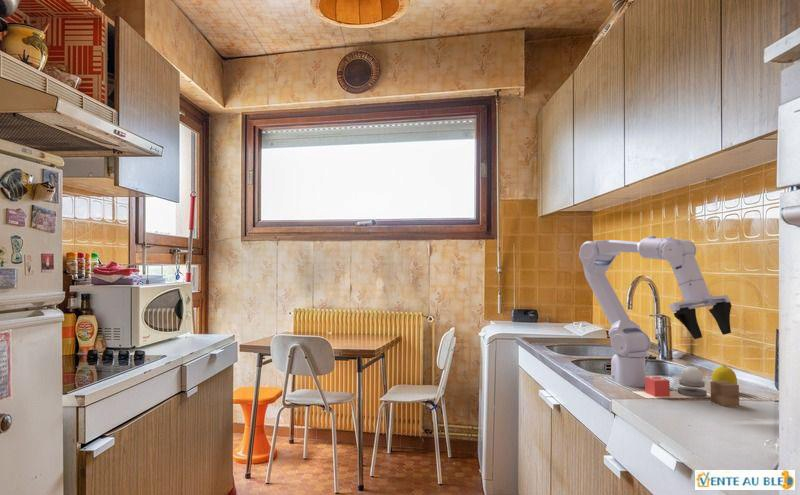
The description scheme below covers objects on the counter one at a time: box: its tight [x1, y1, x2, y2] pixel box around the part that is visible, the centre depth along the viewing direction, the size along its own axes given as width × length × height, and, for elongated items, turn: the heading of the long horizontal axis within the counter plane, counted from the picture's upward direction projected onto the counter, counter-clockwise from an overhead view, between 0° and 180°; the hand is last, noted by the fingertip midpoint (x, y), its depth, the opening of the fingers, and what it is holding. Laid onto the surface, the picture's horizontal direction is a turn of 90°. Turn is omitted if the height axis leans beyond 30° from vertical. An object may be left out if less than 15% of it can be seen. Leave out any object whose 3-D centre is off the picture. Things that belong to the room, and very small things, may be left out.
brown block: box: [709, 380, 740, 408], centre depth 112 cm, size 4×4×6 cm
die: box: [644, 376, 671, 397], centre depth 121 cm, size 4×4×4 cm
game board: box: [631, 386, 711, 399], centre depth 116 cm, size 16×19×2 cm
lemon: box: [711, 364, 738, 385], centre depth 124 cm, size 6×6×8 cm
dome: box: [678, 365, 706, 389], centre depth 121 cm, size 6×6×5 cm
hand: (712, 336), depth 113 cm, fingers open, 7 cm apart
